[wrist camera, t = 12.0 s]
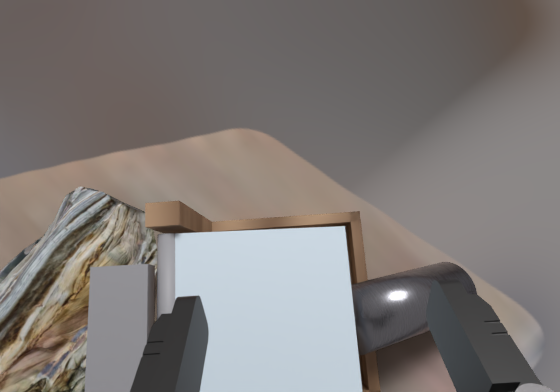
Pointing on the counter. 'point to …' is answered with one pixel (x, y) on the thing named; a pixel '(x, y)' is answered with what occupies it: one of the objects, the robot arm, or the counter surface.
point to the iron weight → (398, 304)
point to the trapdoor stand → (187, 220)
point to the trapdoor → (235, 310)
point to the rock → (63, 290)
